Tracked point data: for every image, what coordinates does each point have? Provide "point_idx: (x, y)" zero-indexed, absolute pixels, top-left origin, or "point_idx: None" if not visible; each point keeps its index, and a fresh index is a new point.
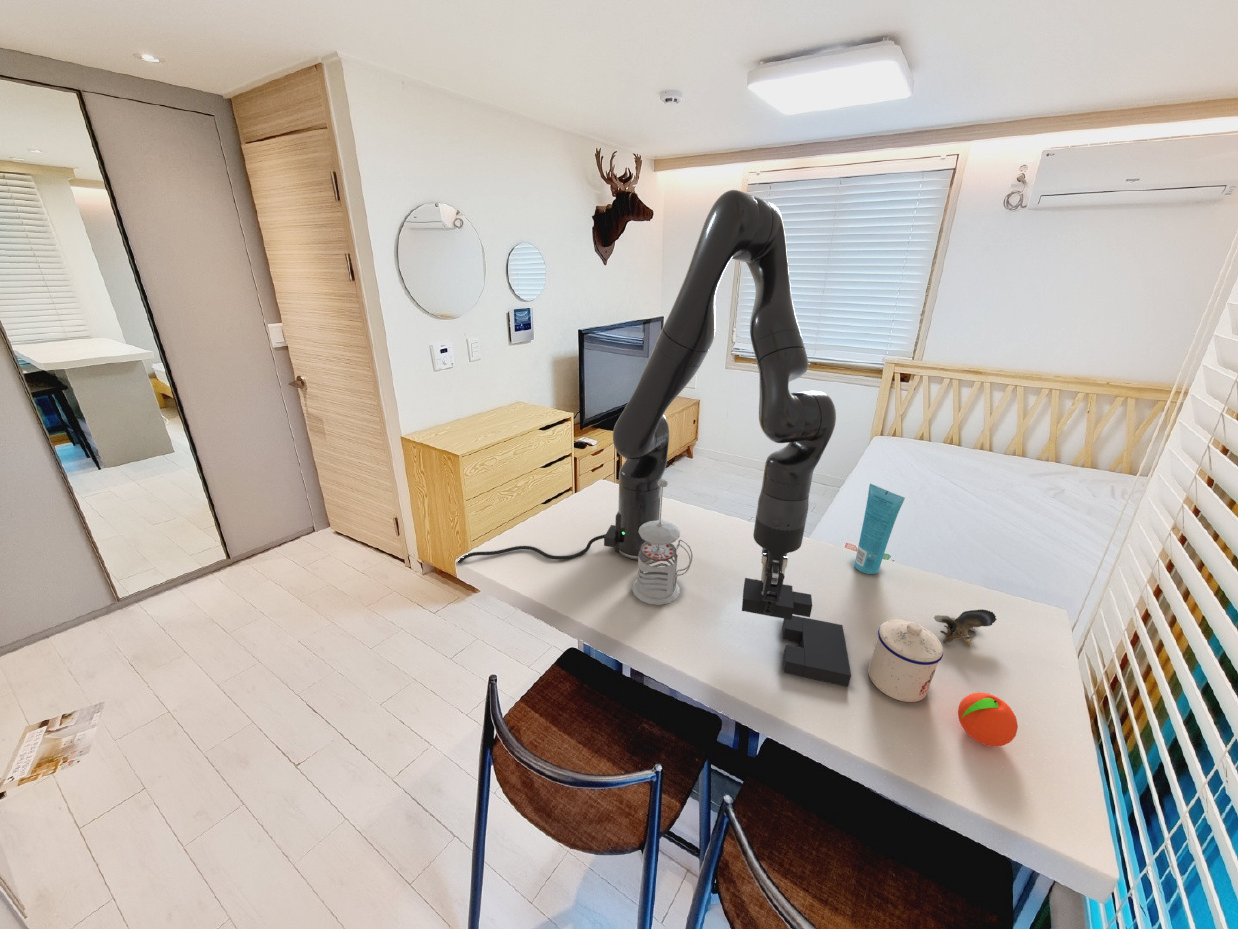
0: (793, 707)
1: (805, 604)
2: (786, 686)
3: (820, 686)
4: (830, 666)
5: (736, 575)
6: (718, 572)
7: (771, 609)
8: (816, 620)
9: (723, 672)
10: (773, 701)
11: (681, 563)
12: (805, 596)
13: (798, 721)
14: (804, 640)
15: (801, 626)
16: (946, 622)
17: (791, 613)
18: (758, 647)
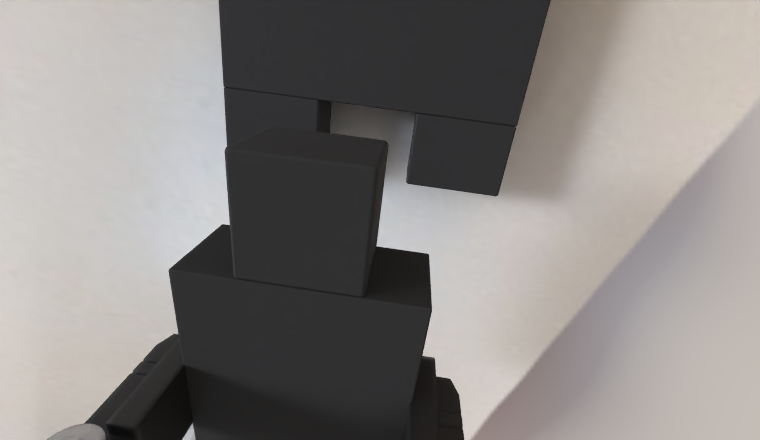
0: (633, 171)
1: (371, 219)
2: (545, 179)
3: (545, 56)
4: (519, 9)
5: (58, 265)
6: (73, 314)
7: (459, 424)
8: (222, 16)
9: (495, 338)
10: (605, 227)
11: (87, 398)
12: (267, 200)
13: (691, 165)
14: (371, 102)
15: (285, 99)
16: None
17: (429, 286)
18: (383, 240)
